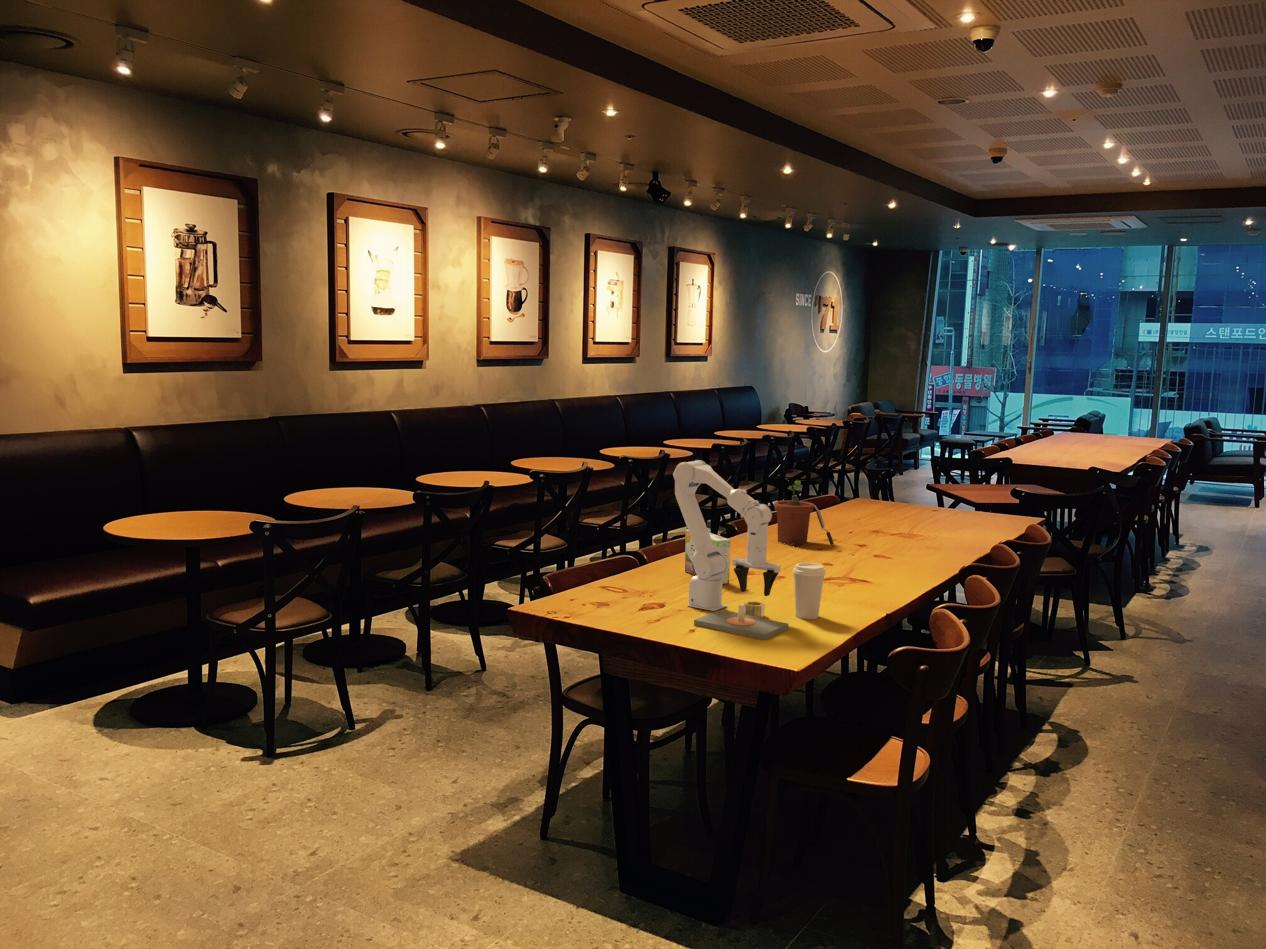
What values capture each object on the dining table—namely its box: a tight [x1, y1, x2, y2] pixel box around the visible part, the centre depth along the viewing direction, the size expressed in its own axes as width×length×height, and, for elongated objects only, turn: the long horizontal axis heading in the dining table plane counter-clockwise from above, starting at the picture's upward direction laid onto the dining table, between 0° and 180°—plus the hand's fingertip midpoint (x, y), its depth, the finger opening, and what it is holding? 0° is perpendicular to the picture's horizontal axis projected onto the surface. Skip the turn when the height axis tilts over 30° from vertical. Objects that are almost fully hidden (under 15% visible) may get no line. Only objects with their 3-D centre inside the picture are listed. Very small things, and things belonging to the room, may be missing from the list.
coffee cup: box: [791, 562, 827, 620], centre depth 292 cm, size 10×10×15 cm
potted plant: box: [773, 480, 834, 548], centre depth 404 cm, size 18×22×25 cm
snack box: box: [684, 528, 731, 585], centre depth 338 cm, size 21×6×15 cm, turn 27°
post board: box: [693, 604, 789, 641], centre depth 279 cm, size 22×14×6 cm, turn 55°
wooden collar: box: [743, 600, 766, 619], centre depth 291 cm, size 6×6×4 cm
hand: (755, 593), depth 291 cm, fingers open, 7 cm apart
